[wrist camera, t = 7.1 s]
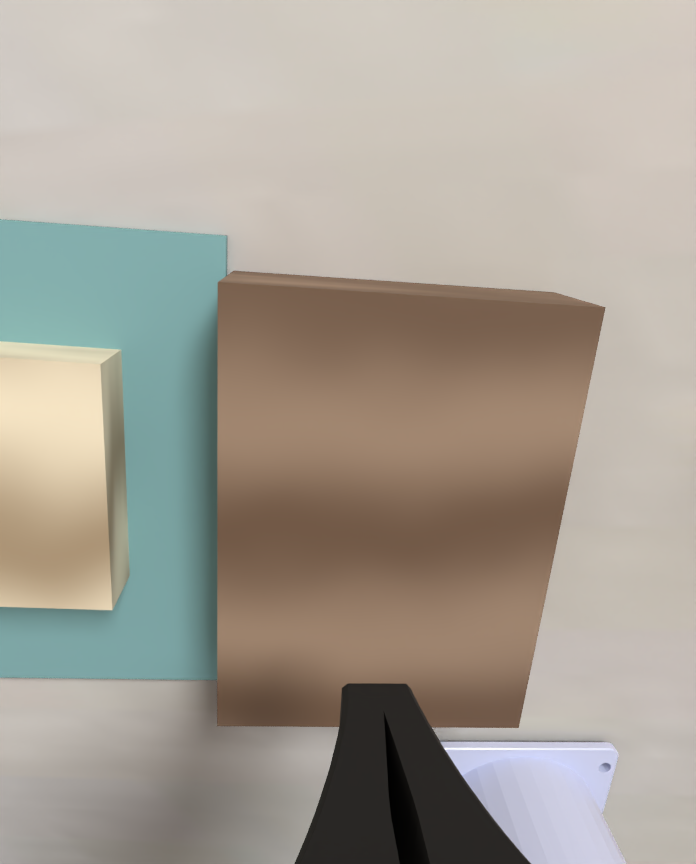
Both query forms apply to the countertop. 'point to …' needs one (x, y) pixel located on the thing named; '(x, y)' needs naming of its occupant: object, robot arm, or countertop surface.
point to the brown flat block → (389, 490)
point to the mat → (131, 439)
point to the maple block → (62, 477)
